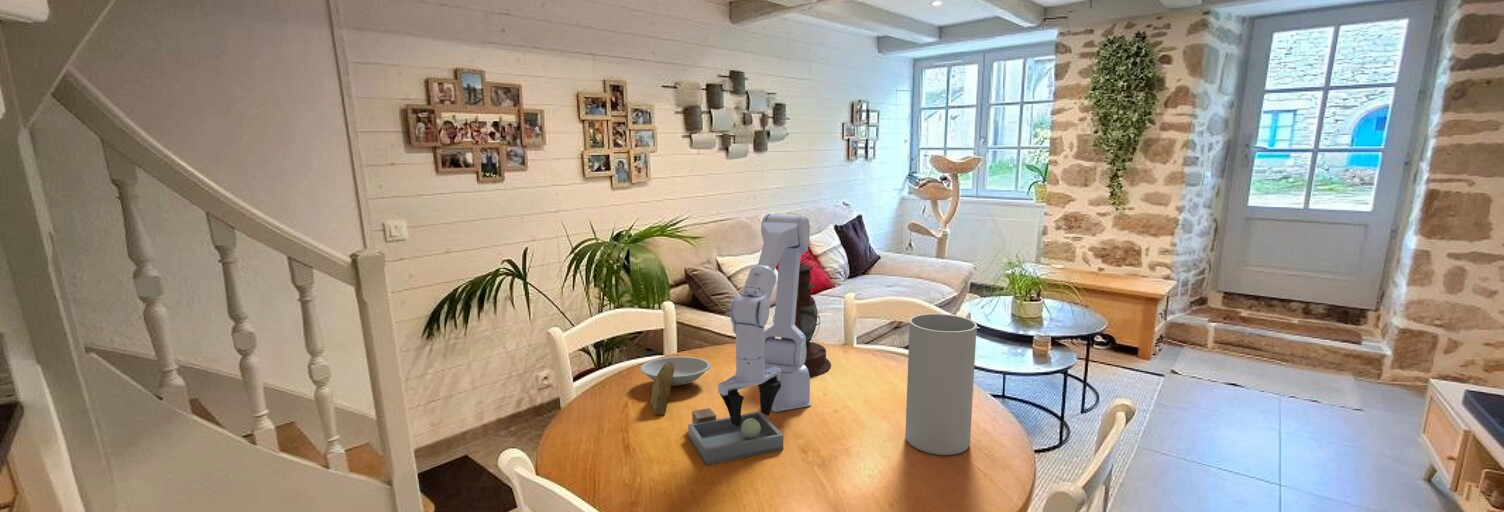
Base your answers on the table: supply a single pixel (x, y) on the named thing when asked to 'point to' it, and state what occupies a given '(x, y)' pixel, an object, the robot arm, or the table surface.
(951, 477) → the table surface
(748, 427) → the green ball
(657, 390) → the rock
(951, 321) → the cylinder vase
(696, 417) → the walnut cube
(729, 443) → the serving tray
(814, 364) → the lantern
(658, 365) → the dish
